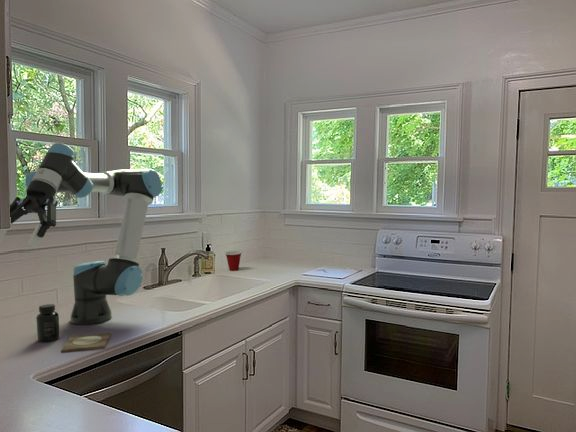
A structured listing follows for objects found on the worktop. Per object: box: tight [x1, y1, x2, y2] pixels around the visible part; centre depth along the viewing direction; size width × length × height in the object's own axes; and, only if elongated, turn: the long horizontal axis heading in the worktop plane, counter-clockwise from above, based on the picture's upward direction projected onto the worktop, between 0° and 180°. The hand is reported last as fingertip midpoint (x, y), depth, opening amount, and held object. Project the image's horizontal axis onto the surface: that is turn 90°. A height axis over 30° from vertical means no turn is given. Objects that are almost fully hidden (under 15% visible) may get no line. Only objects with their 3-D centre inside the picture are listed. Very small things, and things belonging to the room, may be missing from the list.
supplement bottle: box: [35, 303, 60, 343], centre depth 152 cm, size 7×7×12 cm
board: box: [60, 332, 112, 353], centre depth 148 cm, size 14×13×1 cm
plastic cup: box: [224, 250, 242, 272], centre depth 283 cm, size 11×11×12 cm
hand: (12, 246), depth 125 cm, fingers open, 13 cm apart
